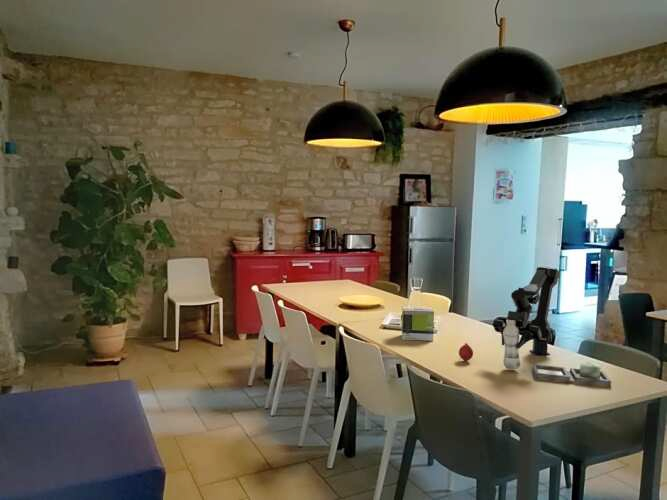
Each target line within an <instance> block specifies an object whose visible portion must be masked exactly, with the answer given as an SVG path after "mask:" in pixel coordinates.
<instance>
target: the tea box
mask: <svg viewBox="0 0 667 500" xmlns="http://www.w3.org/2000/svg"><path fill="white" fill-rule="evenodd" d="M401 312H402V313H401V338H402V340H403V341H404V340H406V341H427V342H429V341H431V342H433V341H434V328H435V327H434V322H435V320H434V319H435V311H434V310H433V307H417V306H414V307H413V306H410V307H409V306H403V307H402V309H401Z"/></svg>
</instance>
